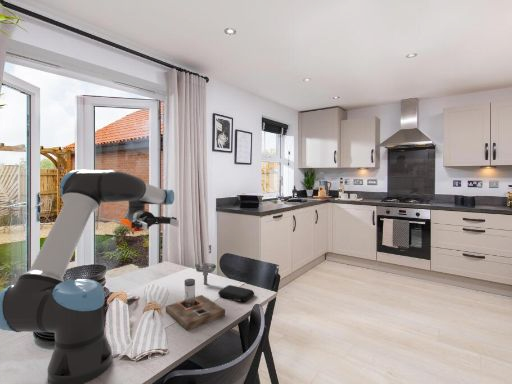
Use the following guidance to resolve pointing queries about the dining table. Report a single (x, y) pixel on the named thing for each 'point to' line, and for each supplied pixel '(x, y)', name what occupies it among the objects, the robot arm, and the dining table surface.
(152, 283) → the dining table surface
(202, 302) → the socket board
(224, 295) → the carrying case or bag
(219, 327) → the dining table surface
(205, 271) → the mechanical component
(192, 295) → the metal cylinder
